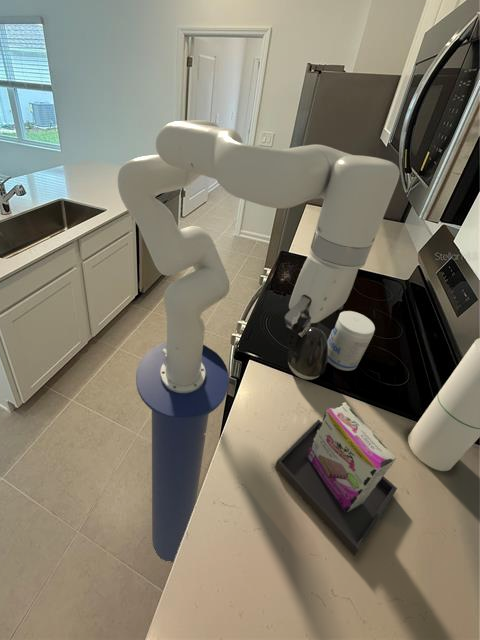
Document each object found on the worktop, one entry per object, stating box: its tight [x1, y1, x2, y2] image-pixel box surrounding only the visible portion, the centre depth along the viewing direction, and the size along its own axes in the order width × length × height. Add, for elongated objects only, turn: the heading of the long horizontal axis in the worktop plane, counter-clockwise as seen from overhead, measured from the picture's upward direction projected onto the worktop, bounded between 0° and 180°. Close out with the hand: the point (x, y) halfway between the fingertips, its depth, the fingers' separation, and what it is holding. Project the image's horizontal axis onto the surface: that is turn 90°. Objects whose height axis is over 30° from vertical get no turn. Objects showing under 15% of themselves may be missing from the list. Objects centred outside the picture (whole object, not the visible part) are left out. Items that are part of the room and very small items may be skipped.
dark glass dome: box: [286, 326, 328, 381], centre depth 82 cm, size 10×10×15 cm
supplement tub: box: [327, 310, 376, 372], centre depth 87 cm, size 10×10×15 cm
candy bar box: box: [306, 401, 397, 513], centre depth 58 cm, size 11×5×16 cm, turn 23°
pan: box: [274, 419, 398, 557], centre depth 62 cm, size 17×15×3 cm
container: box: [407, 337, 480, 472], centre depth 62 cm, size 9×9×30 cm
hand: (309, 335), depth 52 cm, fingers open, 9 cm apart
